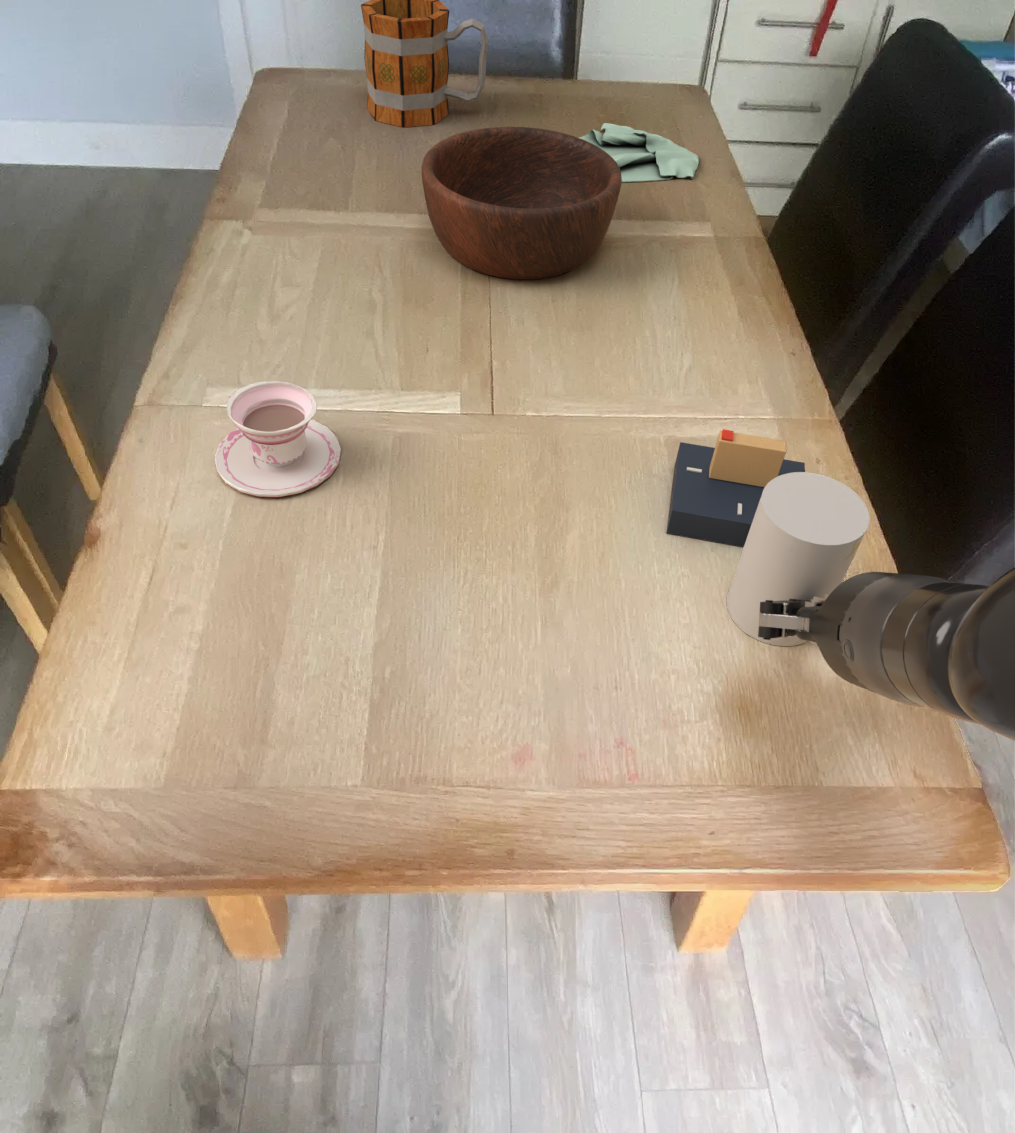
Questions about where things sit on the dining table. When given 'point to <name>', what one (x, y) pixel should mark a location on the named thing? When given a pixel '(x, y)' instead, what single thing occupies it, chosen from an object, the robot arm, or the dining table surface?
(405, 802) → the dining table surface
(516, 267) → the wooden bowl
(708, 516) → the console
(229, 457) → the teacup
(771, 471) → the tan rectangular block
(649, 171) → the cloth
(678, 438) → the dining table surface
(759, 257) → the dining table surface
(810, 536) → the beige solid cylinder
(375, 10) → the mug
